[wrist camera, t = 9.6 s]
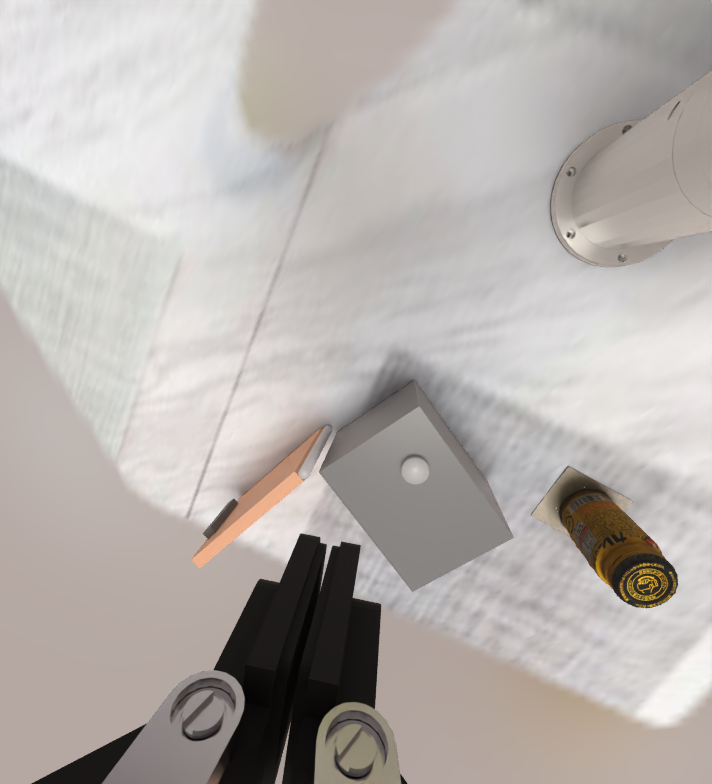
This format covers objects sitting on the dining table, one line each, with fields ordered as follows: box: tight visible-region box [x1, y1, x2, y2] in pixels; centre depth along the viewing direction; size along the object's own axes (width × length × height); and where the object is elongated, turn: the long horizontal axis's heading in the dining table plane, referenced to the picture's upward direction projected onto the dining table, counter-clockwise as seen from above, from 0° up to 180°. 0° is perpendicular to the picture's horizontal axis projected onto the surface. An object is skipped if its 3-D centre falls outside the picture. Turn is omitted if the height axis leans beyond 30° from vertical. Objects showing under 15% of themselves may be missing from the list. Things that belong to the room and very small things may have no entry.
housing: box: [319, 380, 514, 592], centre depth 41 cm, size 11×15×12 cm
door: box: [191, 425, 332, 568], centre depth 42 cm, size 2×15×12 cm, turn 133°
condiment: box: [531, 467, 678, 608], centre depth 40 cm, size 7×8×12 cm
